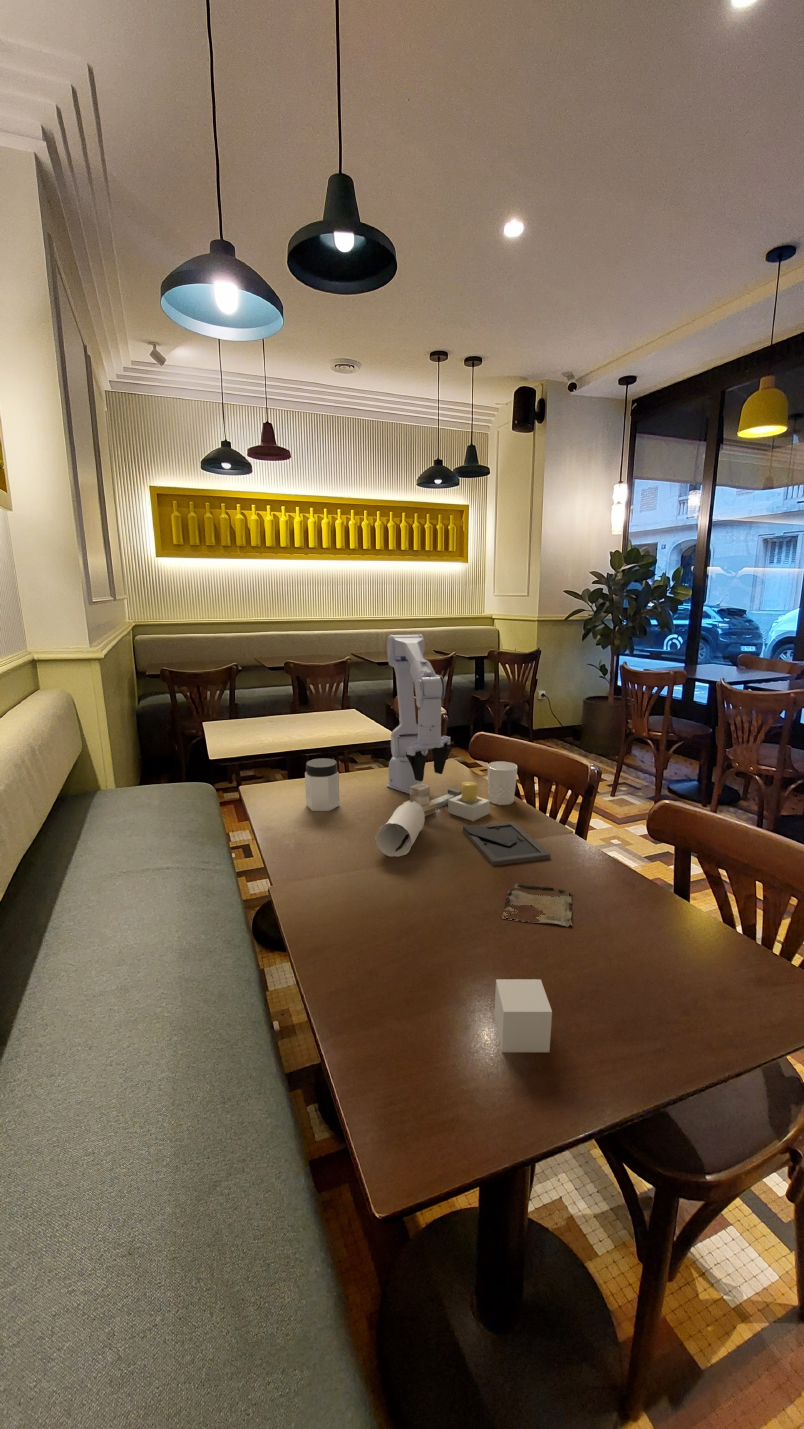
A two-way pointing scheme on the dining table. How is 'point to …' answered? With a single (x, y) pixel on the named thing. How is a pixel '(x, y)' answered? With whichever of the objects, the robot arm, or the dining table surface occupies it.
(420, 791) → the carriage
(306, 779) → the jar
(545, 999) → the white cube
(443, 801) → the gray block handle
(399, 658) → the robot arm
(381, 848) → the white hollow cylinder
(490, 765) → the white cup
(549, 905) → the parchment
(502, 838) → the picture frame
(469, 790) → the cylinder
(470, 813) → the frame
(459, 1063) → the dining table surface
